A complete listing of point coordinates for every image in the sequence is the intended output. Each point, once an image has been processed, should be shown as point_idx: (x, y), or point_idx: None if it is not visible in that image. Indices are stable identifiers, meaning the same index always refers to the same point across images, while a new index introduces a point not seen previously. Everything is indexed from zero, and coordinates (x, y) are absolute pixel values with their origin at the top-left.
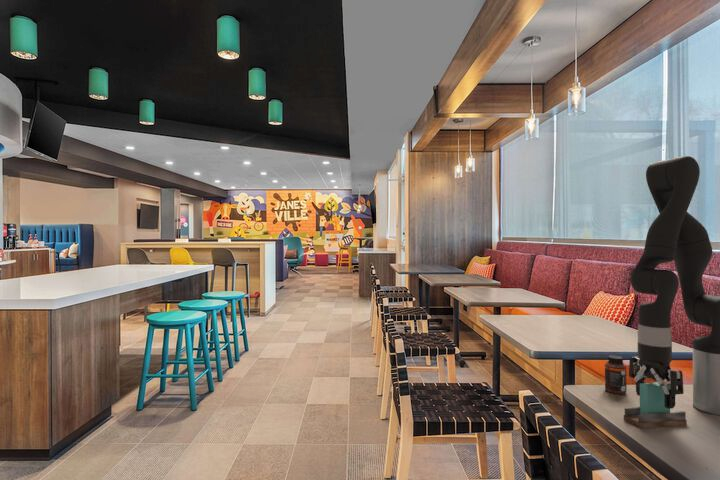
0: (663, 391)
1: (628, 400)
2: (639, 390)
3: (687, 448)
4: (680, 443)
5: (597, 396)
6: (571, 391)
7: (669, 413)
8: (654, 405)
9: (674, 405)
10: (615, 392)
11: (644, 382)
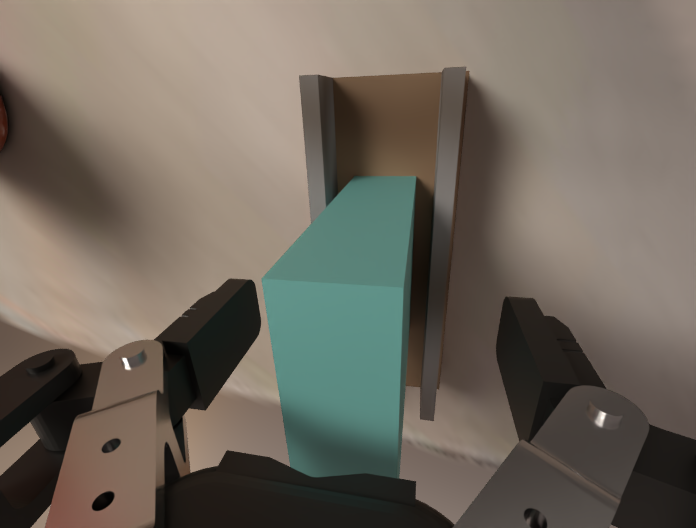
0: (404, 331)
1: (98, 138)
2: (241, 354)
3: (681, 357)
4: (628, 342)
5: (74, 267)
6: (39, 333)
7: (450, 231)
8: (407, 339)
9: (563, 332)
10: (2, 142)
11: (182, 348)
